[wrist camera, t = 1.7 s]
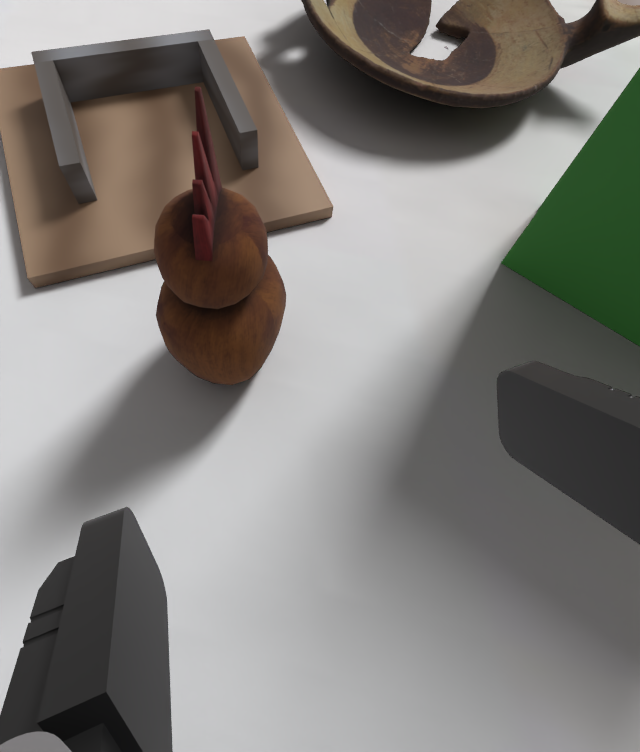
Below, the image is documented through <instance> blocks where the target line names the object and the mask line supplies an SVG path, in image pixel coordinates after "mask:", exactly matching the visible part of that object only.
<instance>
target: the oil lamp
mask: <svg viewBox="0 0 640 752" xmlns="http://www.w3.org/2000/svg"><path fill="white" fill-rule="evenodd" d="M301 1H302V2H303V4H304V8H305V11H306V13H307V16H308V17H309V19H310V21H311V23H312V24H313V26H314V27H315V29H316V30H317V32H318V33H319V35H320V36H321V37H322V38H323V39H324V40H325V42H326V43H327V44H328V45H329V46H330V47H331V48H332V49H333V50H334V51H335V52H336V53H337V54H338V55H340V56H341V57H342V58H344V59H345V60H346V61H348V62H349V63H350V64H352V65H353V66H355V67H356V68H358V69H359V70H361V71H362V72H364V73H366V74H368V75H369V76H371V77H373V78H374V79H376V80H378V81H380V82H382V83H384V84H386V85H388V86H390V87H393V88H395V89H398V90H400V91H403V92H405V93H408V94H411V95H414V96H417V97H420V98H423V99H426V100H429V101H433V102H436V103H440V104H445V105H449V106H453V107H469V108H488V107H497V106H504V105H508V104H512V103H515V102H518V101H521V100H523V99H526V98H528V97H530V96H532V95H534V94H536V93H538V92H539V91H541V90H542V89H543V88H545V87H546V86H547V85H548V84H549V83H550V82H551V81H552V80H553V79H554V77H555V76H556V74H557V73H558V71H559V69H560V68H564V67H567V66H569V65H572V64H574V63H576V62H578V61H581V60H583V59H585V58H587V57H590V56H592V55H594V54H597V53H599V52H602V51H604V50H606V49H609V48H611V47H614V46H616V45H618V44H621V43H623V42H626V41H628V40H630V39H633V38H636V37H638V36H640V5H637V6H630V5H626V4H622V3H620V2H618V1H617V0H596V2H595V3H594V5H593V7H592V9H591V10H590V11H589V12H588V13H587V14H586V15H585V16H584V17H583V18H581V19H579V20H577V21H575V22H572V23H565V21H564V18H562V17H561V16H559V15H558V13H557V12H556V11H555V8H554V7H553V6H552V5H551V3H550V1H549V0H459V1H457V2H456V4H455V5H453V6H452V7H451V9H450V10H449V11H447V12H446V13H445V14H444V15H443V16H442V17H441V19H440V20H439V22H438V23H437V24H436V27H437V28H438V30H439V31H440V32H444V33H446V34H448V36H449V35H451V36H454V37H456V38H461V37H466V39H465V40H464V41H463V43H462V44H460V46H459V47H458V48H456V49H455V50H454V51H452V52H451V54H450V56H449V57H448V58H447V59H445V60H442V61H441V60H434V59H427V58H424V57H416V56H413V55H411V54H410V52H411V51H412V49H414V47H415V46H417V45H418V43H419V42H420V41H421V39H422V38H423V37H424V35H425V33H426V29H427V27H428V24H429V17H430V12H431V2H432V1H431V0H326V1H327V5H326V4H325V2H324V1H323V0H301ZM445 48H447V46H446V47H445ZM447 49H448V48H447Z"/></svg>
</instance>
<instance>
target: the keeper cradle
mask: <svg viewBox="0 0 640 752" xmlns="http://www.w3.org/2000/svg"><path fill="white" fill-rule="evenodd" d="M32 56H33V61H34V64H32V65H24V66H17V67H9V68H2V69H0V132H1V137H2V143H3V148H4V153H5V159H6V164H7V170H8V175H9V180H10V186H11V191H12V197H13V202H14V207H15V213H16V218H17V224H18V229H19V235H20V240H21V245H22V251H23V256H24V262H25V267H26V272H27V278H28V279H29V281H30V282H31V283H32V284H33V286H34V287H35V288H38V287H42V286H46V285H50V284H55V283H59V282H63V281H67V280H71V279H75V278H80V277H84V276H88V275H92V274H96V273H100V272H104V271H109V270H113V269H117V268H121V267H125V266H129V265H134V264H138V263H142V262H146V261H150V260H154V259H156V258H155V254H154V238H155V226H156V223H157V221H158V219H159V217H160V215H161V212H162V211H163V209H164V207H165V205H167V204H168V203H169V202H170V201H171V200H172V199H173V198H174V197H176V196H178V195H179V194H181V193H183V192H185V191H187V190H190V189H192V180H193V179H195V170H194V157H193V145H192V131H197V127H196V108H195V86H196V87H201V89H202V94H203V99H204V104H205V108H206V113H207V118H208V122H209V127H210V132H211V137H212V141H213V146H214V151H215V156H216V160H217V165H218V170H219V175H220V180H221V185H222V188H226V189H229V190H231V191H234V192H236V193H238V194H241V195H243V196H244V197H245V198H246V199H247V200H248V201H249V202H250V203H252V204H253V205H254V206H255V208H256V209H257V211H258V213H259V215H260V217H261V219H262V222H263V224H264V226H265V228H266V231H267V232H271V231H275V230H279V229H283V228H287V227H292V226H296V225H300V224H304V223H308V222H312V221H316V220H321V219H325V218H329V217H332V211H333V205H332V203H331V201H330V199H329V197H328V196H327V194H326V192H325V190H324V188H323V186H322V184H321V182H320V180H319V178H318V176H317V174H316V173H315V171H314V169H313V167H312V165H311V163H310V161H309V159H308V157H307V155H306V153H305V151H304V150H303V148H302V146H301V144H300V142H299V140H298V138H297V136H296V134H295V132H294V130H293V128H292V127H291V125H290V123H289V121H288V119H287V117H286V115H285V113H284V111H283V109H282V107H281V105H280V104H279V102H278V100H277V98H276V96H275V94H274V92H273V90H272V88H271V86H270V84H269V82H268V81H267V79H266V77H265V75H264V73H263V71H262V69H261V67H260V65H259V63H258V61H257V59H256V58H255V56H254V54H253V52H252V50H251V48H250V46H249V44H248V42H247V40H246V38H245V36H243V37H235V38H228V39H220V40H214V39H213V37H212V34H211V32H210V30H201V31H193V32H186V33H178V34H170V35H162V36H154V37H146V38H138V39H130V40H122V41H114V42H107V43H99V44H91V45H83V46H75V47H67V48H59V49H51V50H43V51H35V52H32Z"/></svg>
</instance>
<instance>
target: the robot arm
mask: <svg viewBox="0 0 640 752" xmlns="http://www.w3.org/2000/svg"><path fill="white" fill-rule="evenodd" d="M497 400H498V420H499V435H500V439H501V442H502V444H503V446H504V448H505V449H506V451H507V452H508V453H509V455H510V456H511V457H512V458H514V459H515V460H516V461H518V462H519V463H521V464H522V465H524V466H525V467H527V468H528V469H530V470H531V471H533V472H534V473H536V474H537V475H538V476H540V477H541V478H543V479H544V480H546V481H547V482H549V483H550V484H552V485H553V486H555V487H556V488H558V489H559V490H561V491H562V492H563V493H565V494H566V495H568V496H569V497H571V498H572V499H574V500H575V501H577V502H578V503H580V504H581V505H583V506H584V507H586V508H587V509H589V510H590V511H591V512H593V513H594V514H596V515H597V516H599V517H600V518H602V519H603V520H605V521H606V522H608V523H609V524H611V525H612V526H614V527H615V528H617V529H618V530H619V531H621V532H622V533H624V534H625V535H627V536H628V537H630V538H631V539H633V540H634V541H636V542H637V543H639V544H640V397H637V396H636V397H632V395H631V394H629V393H627V392H624V391H621V390H619V389H615V390H613V389H612V387H611V386H608V385H605V384H603V383H600V382H597V381H595V380H592V379H589V378H585V377H579V376H574V375H571V374H568V373H566V372H563V371H561V370H558V369H555V368H553V367H550V366H548V365H545V364H542V363H540V362H537V361H530V362H527V363H525V364H522V365H519V366H516V367H514V368H511V369H508V370H505V371H503V372H501V373H500V374H499V376H498V378H497ZM30 619H31V623H28V626H27V629H26V633H25V636H24V639H23V644H24V647H23V648H21V649H20V652H19V656H18V659H17V662H16V665H15V669H14V672H13V675H12V678H11V682H10V685H9V688H8V692H7V695H6V698H5V701H4V705H3V708H2V711H1V715H0V752H172V726H171V698H170V670H169V642H168V614H167V597H166V591H165V587H164V582H163V579H162V576H161V573H160V570H159V568H158V565H157V563H156V561H155V559H154V557H153V555H152V552H151V550H150V548H149V546H148V544H147V542H146V539H145V537H144V535H143V533H142V531H141V529H140V526H139V524H138V522H137V520H136V518H135V516H134V514H133V512H132V511H131V509H130V508H128V507H125V508H123V509H120V510H117V511H114V512H112V513H109V514H106V515H103V516H101V517H98V518H95V519H92V520H90V521H87V522H85V523H83V525H82V528H81V532H80V537H79V541H78V546H77V550H76V554H75V556H74V557H72V558H69V559H66V560H64V561H61V562H58V564H57V565H56V567H55V568H54V569H53V571H52V572H51V573H50V575H49V576H48V578H47V579H46V580H45V582H44V583H43V585H42V586H41V587H40V589H39V590H38V593H37V597H36V600H35V603H34V606H33V610H32V613H31V616H30Z"/></svg>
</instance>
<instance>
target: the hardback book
mask: <svg viewBox="0 0 640 752" xmlns="http://www.w3.org/2000/svg"><path fill="white" fill-rule="evenodd" d="M501 263H502V264H503V265H505V266H507V267H508V268H510V269H512V270H513V271H515V272H517V273H518V274H520V275H522V276H523V277H525V278H527V279H528V280H530V281H532V282H533V283H535V284H537V285H538V286H540V287H542V288H543V289H545V290H547V291H548V292H550V293H552V294H553V295H555V296H557V297H558V298H560V299H562V300H563V301H565V302H567V303H568V304H570V305H572V306H573V307H575V308H577V309H578V310H580V311H582V312H583V313H585V314H587V315H588V316H590V317H592V318H593V319H595V320H597V321H598V322H600V323H601V324H603V325H605V326H606V327H608V328H610V329H611V330H613V331H615V332H616V333H618V334H620V335H621V336H623V337H625V338H626V339H628V340H630V341H631V342H633V343H635V344H636V345H638V346H640V68H639V70H638V71H637V72H636V74H635V75H634V77H633V78H632V79H631V81H630V82H629V84H628V85H627V86H626V88H625V89H624V90H623V92H622V93H621V95H620V96H619V97H618V99H617V100H616V102H615V103H614V104H613V106H612V107H611V109H610V110H609V111H608V113H607V114H606V116H605V117H604V118H603V120H602V121H601V123H600V124H599V125H598V127H597V128H596V130H595V131H594V132H593V134H592V135H591V137H590V138H589V139H588V141H587V142H586V143H585V145H584V146H583V148H582V149H581V150H580V152H579V153H578V155H577V156H576V157H575V159H574V160H573V162H572V163H571V164H570V166H569V167H568V169H567V170H566V171H565V173H564V174H563V176H562V177H561V178H560V180H559V181H558V183H557V184H556V185H555V187H554V188H553V190H552V191H551V192H550V194H549V195H548V197H547V198H546V199H545V201H544V202H543V203H542V205H541V206H540V208H539V209H538V211H537V213H536V215H535V216H534V218H533V219H532V220H531V222H530V223H529V225H528V226H527V227H526V229H525V230H524V231H523V233H522V234H521V236H520V237H519V238H518V240H517V241H516V243H515V244H514V245H513V247H512V248H511V250H510V251H509V252H508V254H507V255H506V257H505V258H504V259H503V261H502V262H501Z"/></svg>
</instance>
